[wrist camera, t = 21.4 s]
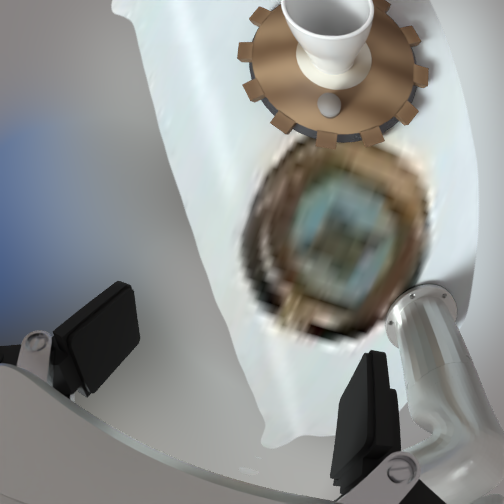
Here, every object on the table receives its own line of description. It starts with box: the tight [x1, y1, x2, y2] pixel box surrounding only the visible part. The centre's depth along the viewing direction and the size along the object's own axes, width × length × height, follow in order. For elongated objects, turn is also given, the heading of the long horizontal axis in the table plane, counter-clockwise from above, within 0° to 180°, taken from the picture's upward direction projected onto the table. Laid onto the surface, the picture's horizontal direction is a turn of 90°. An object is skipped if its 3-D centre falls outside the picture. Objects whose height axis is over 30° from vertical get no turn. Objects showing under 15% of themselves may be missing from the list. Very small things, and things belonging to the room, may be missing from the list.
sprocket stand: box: [249, 28, 417, 142], centre depth 28 cm, size 24×22×4 cm
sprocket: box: [237, 0, 429, 149], centre depth 25 cm, size 24×24×7 cm
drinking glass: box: [281, 0, 374, 75], centre depth 20 cm, size 7×7×15 cm
